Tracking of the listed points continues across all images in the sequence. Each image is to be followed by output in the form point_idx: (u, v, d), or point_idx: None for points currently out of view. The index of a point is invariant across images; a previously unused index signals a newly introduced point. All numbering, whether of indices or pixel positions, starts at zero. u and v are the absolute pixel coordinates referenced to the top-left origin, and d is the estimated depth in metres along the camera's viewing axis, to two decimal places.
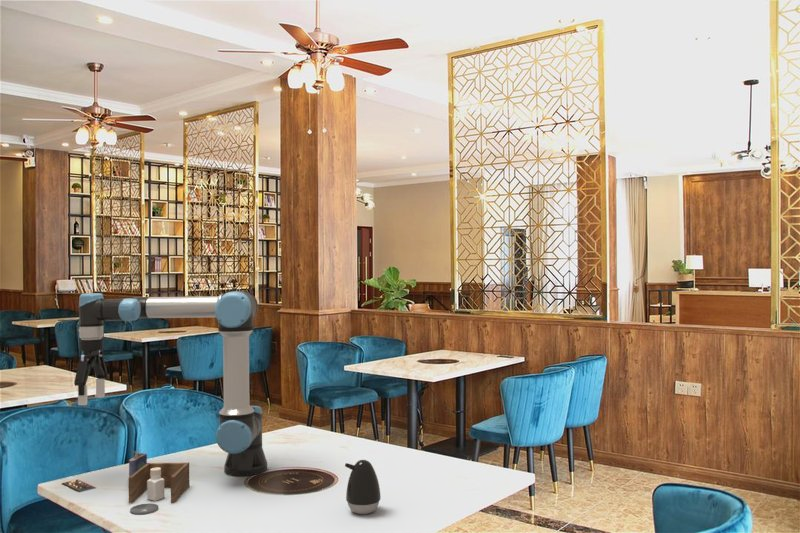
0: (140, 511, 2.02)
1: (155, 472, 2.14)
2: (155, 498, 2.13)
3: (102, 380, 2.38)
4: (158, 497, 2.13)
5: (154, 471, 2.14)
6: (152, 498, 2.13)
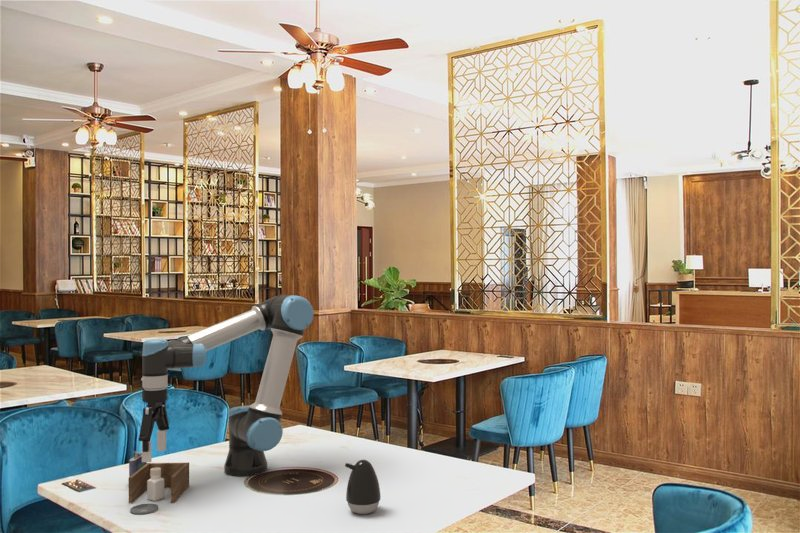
0: (140, 511, 2.02)
1: (155, 472, 2.14)
2: (155, 498, 2.13)
3: (164, 432, 2.22)
4: (158, 497, 2.13)
5: (154, 471, 2.14)
6: (152, 498, 2.13)
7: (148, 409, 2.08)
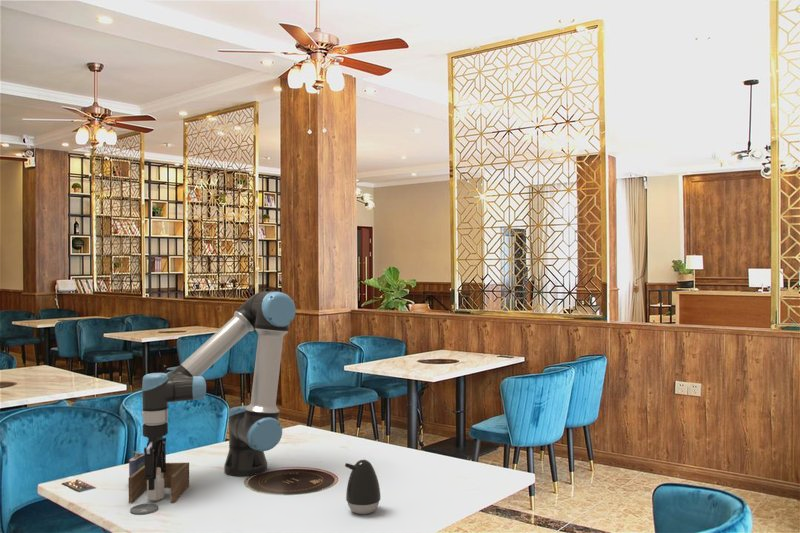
0: (140, 511, 2.02)
1: None
2: None
3: (161, 475, 2.18)
4: (158, 497, 2.13)
5: None
6: None
7: (149, 450, 2.09)
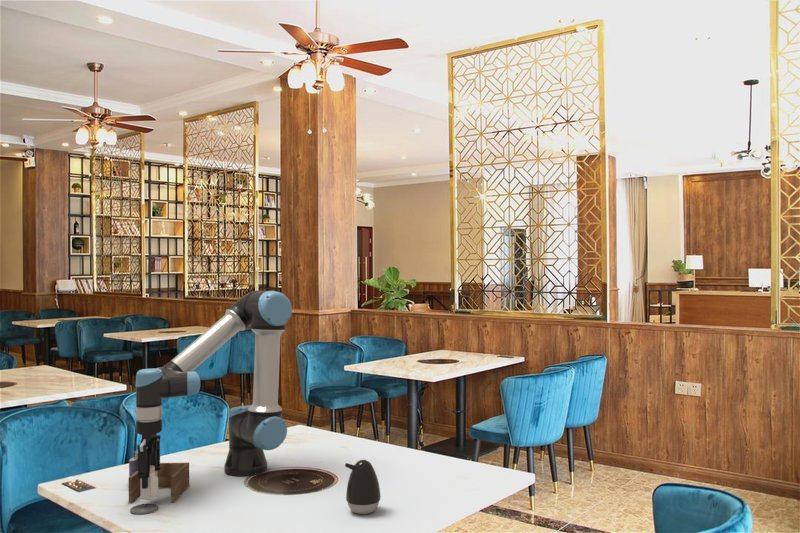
0: (140, 511, 2.02)
1: None
2: None
3: (155, 473, 2.12)
4: (152, 496, 2.08)
5: None
6: None
7: (142, 447, 2.03)
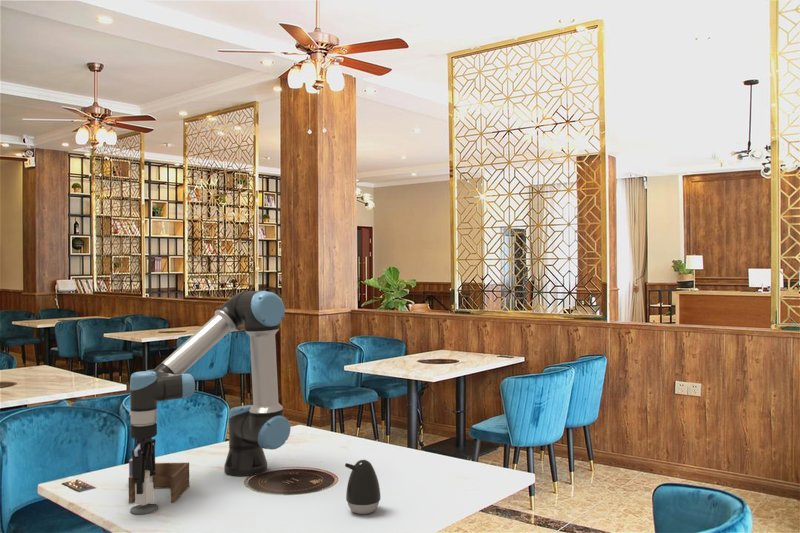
0: (140, 511, 2.02)
1: None
2: None
3: (150, 478, 2.08)
4: (147, 501, 2.04)
5: None
6: None
7: (137, 452, 1.99)
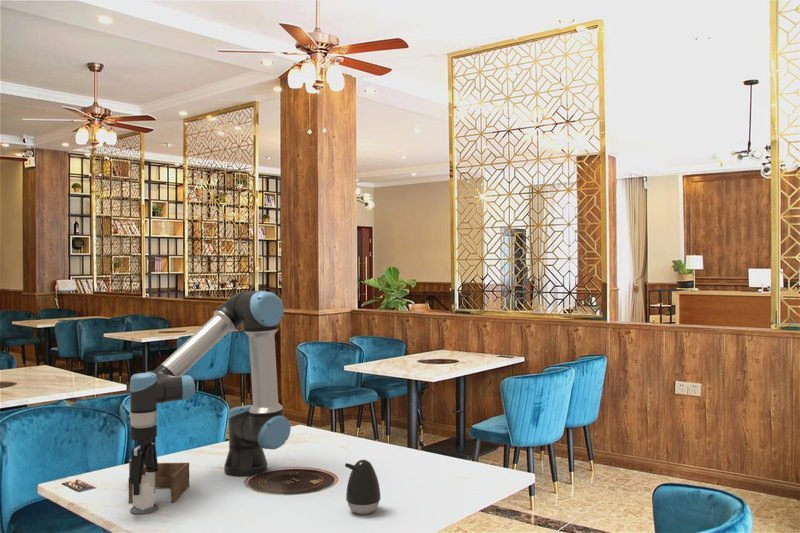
0: (140, 511, 2.02)
1: (144, 480, 2.04)
2: (144, 507, 2.03)
3: (152, 474, 2.10)
4: (147, 506, 2.04)
5: (143, 479, 2.04)
6: (140, 507, 2.03)
7: (136, 451, 1.98)
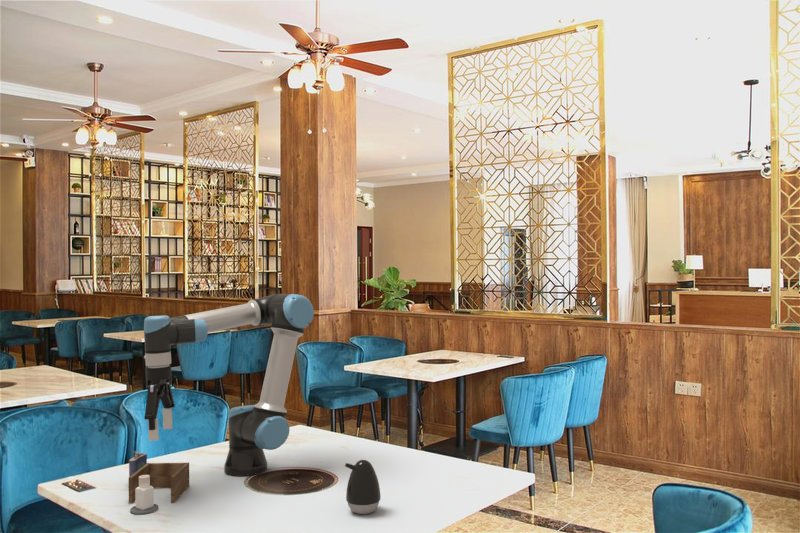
0: (140, 511, 2.02)
1: (144, 480, 2.04)
2: (144, 507, 2.03)
3: (169, 410, 2.17)
4: (147, 506, 2.04)
5: (143, 479, 2.04)
6: (140, 507, 2.03)
7: (153, 387, 2.04)
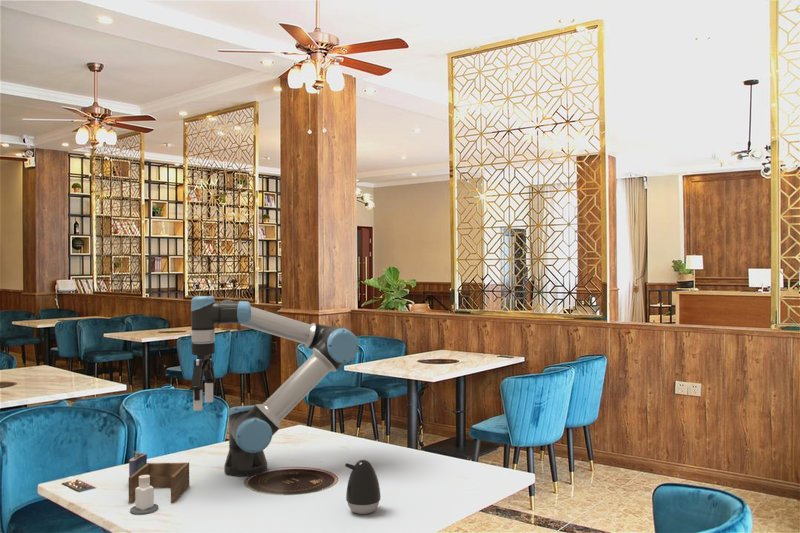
0: (140, 511, 2.02)
1: (144, 480, 2.04)
2: (144, 507, 2.03)
3: (211, 384, 2.34)
4: (147, 506, 2.04)
5: (143, 479, 2.04)
6: (140, 507, 2.03)
7: (198, 360, 2.21)
